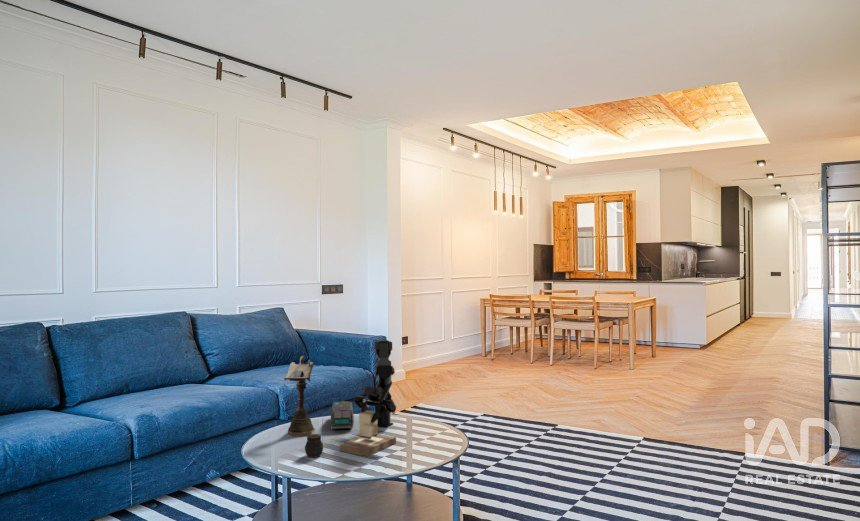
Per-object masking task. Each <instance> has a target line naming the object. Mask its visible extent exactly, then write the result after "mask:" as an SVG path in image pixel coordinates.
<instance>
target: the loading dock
mask: <svg viewBox="0 0 860 521" xmlns="http://www.w3.org/2000/svg"><path fill="white" fill-rule="evenodd" d="M396 443H397V437H396V436H393V435H386V434H379V433H377V436H372V437H371V439H367V438H362V437H360V436H358V437H355V438H353V439H350V440H347V441H345V442H343V443H340V444H339V452H345V453H349V454H354V455H359V456H366V457H369V456H371V455H373V454H376V453H378V452H380V451H382V450H385V449H386V448H389V447H390V446H393V445H395V444H396Z"/></svg>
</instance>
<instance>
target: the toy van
mask: <svg viewBox="0 0 860 521" xmlns="http://www.w3.org/2000/svg"><path fill="white" fill-rule="evenodd" d="M330 411H331V412H330V429H331V430H335V429H350V430H352V429H353V428H354V424H355V423H354V422H355V421H354V420H355V419H354V408H353V404H352V401H345V400H344V401H335V402H333V403H332V406H331V410H330Z"/></svg>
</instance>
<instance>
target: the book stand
mask: <svg viewBox="0 0 860 521" xmlns="http://www.w3.org/2000/svg"><path fill="white" fill-rule="evenodd" d="M304 360H305V355H302V356H300V357H299V363H298V364H296V362H295V361H294V362H293V361H292V362H290V364H289V367H288V372H287V374H286V376H285V377H284V378H283V382H282V383H285V381H290V382H295V385H296V386H295V389H296V390H297V391H298V397H297V400H298V407H297V408H296V410H295V413H294V414H293V415H294V416H293V417H292V419H291V421H290V425H289V427H288V430H287V435H289V436H290V437H307V436H308V434H309V435H311V434H315V433H316V428H315V427H314V425H313V423H312V418H311V417H310V416H309V413H308V412H307V409H306V408H305V407H304V403H305V390H306V389H307V385H308V383H307V381H308V382H309V383H310V382H311V374H312V372H313V368H314V362H312V361H311V360H309V359H308V362H307V364H305V362H304ZM306 380H307V381H306ZM305 430H306V432H308V434H307V433H306V432H305Z"/></svg>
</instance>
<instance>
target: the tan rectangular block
mask: <svg viewBox="0 0 860 521" xmlns="http://www.w3.org/2000/svg"><path fill="white" fill-rule="evenodd" d="M374 413H375V410H370V411H369V410H367V411H365V412H362V413H361V412H359V413H358V416H359V417H358V422H359V423H358V425H359V427H358V437H362V438H367V439H371V437H372V436H377V434H379V433H378V432H379V431H378V430H379V429H378V428H379V426H378V419H377V420H376V421H375V422H373V423H371V420H372V417H373V415H374Z"/></svg>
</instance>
